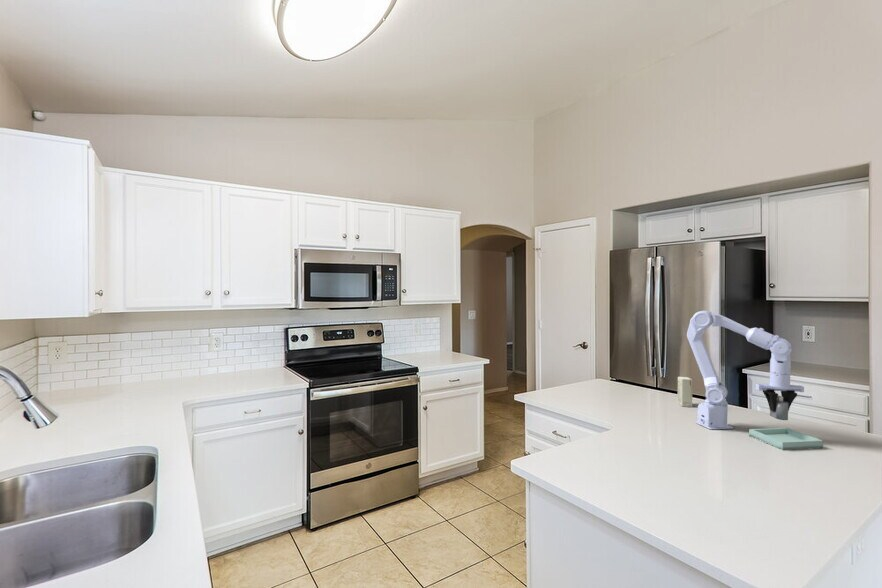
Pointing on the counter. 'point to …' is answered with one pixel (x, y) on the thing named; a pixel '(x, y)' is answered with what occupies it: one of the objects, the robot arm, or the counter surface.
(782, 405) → the grey rounded piece
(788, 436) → the sage tray
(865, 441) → the counter surface
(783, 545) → the counter surface
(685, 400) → the skincare box
